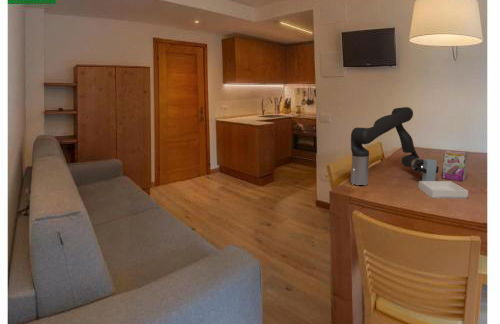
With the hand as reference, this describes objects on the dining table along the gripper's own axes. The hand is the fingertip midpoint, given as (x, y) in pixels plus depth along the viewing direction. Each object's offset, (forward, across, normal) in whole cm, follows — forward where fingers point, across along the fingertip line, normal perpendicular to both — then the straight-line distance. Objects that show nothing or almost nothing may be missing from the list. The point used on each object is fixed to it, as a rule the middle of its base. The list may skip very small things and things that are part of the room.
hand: (431, 171), depth 174 cm
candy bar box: (-14, +18, +8) cm, 24 cm away
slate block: (-3, 0, +8) cm, 8 cm away
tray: (+14, 0, +8) cm, 16 cm away
